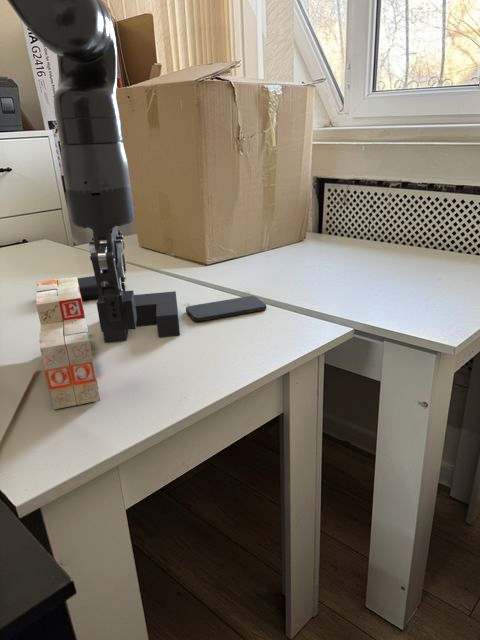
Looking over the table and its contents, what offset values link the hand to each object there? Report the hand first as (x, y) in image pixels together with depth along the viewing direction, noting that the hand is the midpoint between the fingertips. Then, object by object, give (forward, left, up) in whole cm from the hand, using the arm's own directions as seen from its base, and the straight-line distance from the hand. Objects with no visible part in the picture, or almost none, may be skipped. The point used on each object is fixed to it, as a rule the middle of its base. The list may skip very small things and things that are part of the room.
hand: (118, 315), depth 68 cm
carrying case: (-12, +47, -11) cm, 50 cm away
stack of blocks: (-9, +7, -11) cm, 16 cm away
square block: (0, 0, -1) cm, 1 cm away
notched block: (+1, +24, -11) cm, 27 cm away
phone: (+17, +28, -11) cm, 35 cm away
